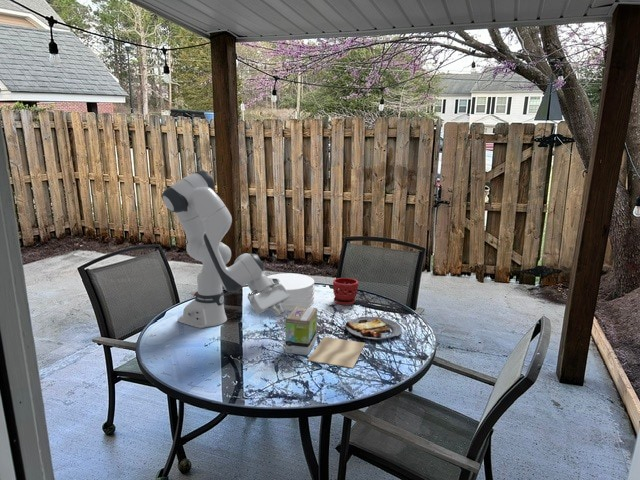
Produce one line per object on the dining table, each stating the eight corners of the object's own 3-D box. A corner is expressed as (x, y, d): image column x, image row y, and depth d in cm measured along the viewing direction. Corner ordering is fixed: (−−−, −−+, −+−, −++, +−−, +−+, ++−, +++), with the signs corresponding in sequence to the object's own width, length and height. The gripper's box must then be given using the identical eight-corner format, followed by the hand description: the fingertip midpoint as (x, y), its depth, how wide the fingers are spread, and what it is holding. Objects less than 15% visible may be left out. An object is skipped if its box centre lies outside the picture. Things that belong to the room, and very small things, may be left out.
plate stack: (319, 295, 243) (319, 275, 241) (306, 313, 216) (306, 291, 214) (271, 291, 249) (271, 271, 247) (253, 308, 222) (252, 287, 220)
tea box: (309, 355, 173) (309, 320, 170) (284, 353, 175) (284, 318, 172) (317, 339, 188) (317, 307, 185) (294, 337, 190) (294, 305, 187)
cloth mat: (307, 360, 169) (307, 360, 169) (324, 337, 190) (324, 336, 190) (352, 368, 164) (352, 367, 164) (365, 343, 184) (365, 342, 184)
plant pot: (358, 306, 226) (359, 284, 223) (332, 306, 226) (333, 284, 224) (356, 298, 239) (357, 277, 236) (332, 297, 239) (332, 276, 236)
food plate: (360, 346, 182) (361, 338, 181) (336, 325, 203) (336, 318, 202) (411, 337, 192) (411, 330, 191) (383, 319, 213) (383, 312, 212)
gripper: (249, 290, 175) (269, 318, 172) (280, 277, 192) (299, 303, 189) (241, 298, 178) (261, 326, 175) (272, 285, 195) (290, 310, 192)
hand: (281, 314), depth 182 cm, fingers closed
